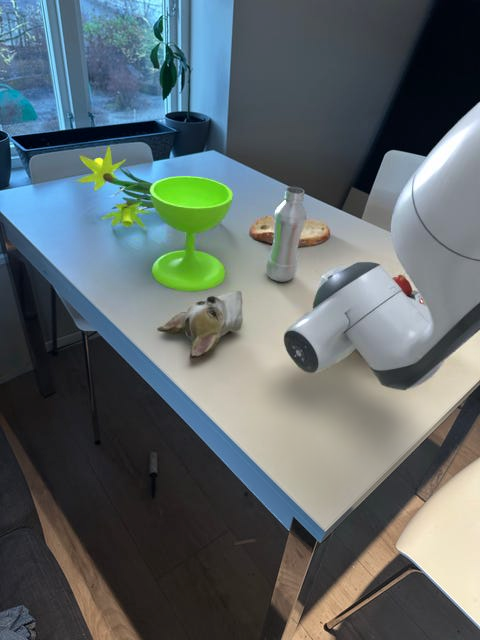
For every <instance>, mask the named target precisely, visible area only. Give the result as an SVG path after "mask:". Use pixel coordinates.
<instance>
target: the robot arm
mask: <svg viewBox="0 0 480 640" xmlns="http://www.w3.org/2000/svg"><path fill="white" fill-rule="evenodd" d="M390 237H391V243H392V247H393V250H394V254H395V255H396V258H397V260H398V262H399V264H400V265H401V266H402V267H401V268H402V269H403V270H404V272H405V274H406V275H407V277H408V278H409V279H410V281H411V283H412V284H413V286H414V287H415V289H416V290H413V292H411V294H410V297H407V296H406V295H405V293H404V292H403V291H402V289H401V288H400V287H399V286H398V284H397V283H396V282H395V281H394V280H393V277H392V276H391V275H390V274H389V272H388V271H387V270H386V269H385V268H384V267H383V266H382V265H381V264H380V263H377V262H372V261H360V262H359V261H358V262H355V263H354V264H351V265H350V266H349V265H347V264H338V265H336V266H334V267H332V268H331V269H330V270H328V271H327V273H324V274H323V275H321V278H320V280H319V282H318V286H317V289H316V294H315V296H314V299H313V302H312V309H311V310H310V311H308V312H307V313H305V314H304V315H302V316H301V317H300V318H298V319H297V320H296V321H295V322H293V324H292V325H291V326H289V327H288V328H287V329H286V331H285V332H284V335H283V344H284V348H285V350H286V353H287V354H288V356H289V357H290V359H291V360H292V361H293V363H294V364H295V365H296V366H297V367H298V368H299V369H300V370H301V371H303V372H305V373H308V374H316V373H319V372H322V371H324V370H326V369H328V368H330V367H332V366H334V365H337V364H338V363H339V362H341V361H343V360H344V359H345V358H347V357H348V356H350V355H351V354H352V353H353V352H354V351H355V350H357V351H358V353H359V354H360V355H361V357H362V358H363V359H364V360H365V362H366V363H367V364H368V365H369V368H370V370H371V371H372V373H373V374H374V376H375V377H376V379H377V380H378V382H379V383H380V385H381V386H383V387H385V388H388V389H392V390H399V391H407V390H411V389H414V388H416V387H419V386H421V385H423V384H424V383H426V382H427V381H429V380H430V379H432V378H433V376H434V375H435V374H437V372H439V371H440V369H441V368H442V366H443V364H444V363H445V361H446V360H447V359H448V358H450V356H452V355H453V354H454V353H455V352H456V351H457V350H459V348H461V347H462V346H463V345H464V344H466V343H467V342H469V340H470V339H471V338H473V337H474V336H475V335H476V334H477V333H478V332H479V331H480V101H479V102H478V103H476V104H475V106H473V107H472V108H471V109H470V110H468V111H467V113H466V114H465V115H463V116H462V117H461V118H460V119H459V120H458V121H457V123H455V124H454V126H453V127H451V129H449V130H448V131H447V133H446V134H445V135H444V136H443V137H442V138H441V139H440V140H439V142H437V143H436V145H434V147H433V148H432V149H431V150H430V152H429V153H428V154H427V156H426V157H425V158H424V160H422V161H421V163H420V164H419V166H418V167H417V168H416V170H415V171H414V172H413V174H412V175H411V176H410V178H409V180H408V181H407V182H406V184H405V185H404V187H403V188H402V190H401V192H400V194H399V196H398V198H397V200H396V202H395V205H394V208H393V211H392V217H391V221H390ZM421 298H422V299H423V301H424V303H425V305H426V306H425V305H423V304H421V303H419V302H420V299H421Z"/></svg>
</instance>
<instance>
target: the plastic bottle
mask: <svg viewBox="0 0 480 640" xmlns="http://www.w3.org/2000/svg"><path fill="white" fill-rule="evenodd" d="M304 196H305V190H304V189H303V188H301V187H298V186H288V187H286V188H285V193H284V195H283V199H284V201H282V202H281V203H280V204H279V206H277V207H276V209H275V212H274V239H273V244H271V245H272V246H271V250H270V254H269V257H268V259H267V262H266V274H267V275H268V277H269V279H272V280H274V281H276V282H288V281H290V280H292V278H294V277H295V275H296V272H297V269H298V267H297V266H298V260H297V258H298V249H299V247H298V244H299V240H300V236H301V233H302V230H303V227H304V224H305V221H306V219H307V212H306V210H305V206H304V205H303V202H304V199H305V197H304Z"/></svg>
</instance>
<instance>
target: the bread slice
mask: <svg viewBox="0 0 480 640" xmlns="http://www.w3.org/2000/svg"><path fill="white" fill-rule="evenodd" d="M248 235H249V236H250V237H251V238H252V239H253V240H256V241H261V242H265V243H267V244H270V245H273V239H274V216H273V215H266V216H263V217H260V218H258V219H257V220H256V221H255V222H253V223H252V225H251V226H250V229H249V232H248ZM330 237H331V230H330V227H328V225H327V224H326V223H325V222H323V221H321V220H316V219H309V218H306V221H305V224H304V227H303V230H302V233H301V236H300V240H299V244H298V248H300V247H312V246H316V245H320V244H322V243H325V242H327V240H329V239H330Z"/></svg>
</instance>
